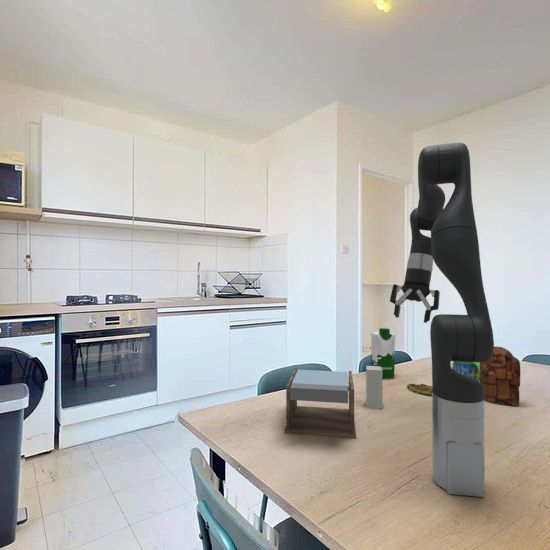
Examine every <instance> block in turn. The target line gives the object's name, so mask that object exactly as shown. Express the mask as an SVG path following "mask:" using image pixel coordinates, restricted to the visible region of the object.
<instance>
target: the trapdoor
mask: <svg viewBox="0 0 550 550" xmlns="http://www.w3.org/2000/svg"><path fill="white" fill-rule="evenodd" d="M290 400H297V401H300V402H302V401H303V402H320V403H336V404H338V403H339V404H349V371H341V370H340V371H338V370H337V371H333V370H314V369H297V373H296V375H295V377H294V379H293V382H292V385H291V387H290Z"/></svg>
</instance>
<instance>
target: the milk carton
mask: <svg viewBox="0 0 550 550" xmlns="http://www.w3.org/2000/svg"><path fill="white" fill-rule="evenodd" d="M390 331H391V330H390V328H387V327H386V328H385V327H384V328H379V329H378V331H371V332H370V335H371V336H370V341H371V345H370V346H371V347H370V348H371V360H370V361H371V362H370V363H371V366H381V368H382V378H394V379H395V368H396V367H395V364H396V363H395V362H396V361H395V360H396V359H395V356H396V355H395V344H396V343H395V338H396V335H395V334H394V333H392V332H390Z"/></svg>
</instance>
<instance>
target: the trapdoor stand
mask: <svg viewBox="0 0 550 550" xmlns="http://www.w3.org/2000/svg"><path fill="white" fill-rule="evenodd" d="M297 370H298V368H297V367H296V368H294V369H293V371H292V373H291V374H290V377H289V379H288V381H287V383H286V387H285V388H286V389H285V391H286V393H285V394H286V396H285V397H286V398H285V399H286V402H285V403H286V405H285V409H286V410H285V413H286V414H285V417H286V418H285V420H286V421H285V422H286V423H285V428H284V434H293V435H306V436H317V437H318V436H320V437H329V438H330V437H333V438H344V439H345V438H347V439H357V429H356V423H355V386H354V379H353V372H352V370H348V380H349V391H348V408H338V407H337V408H336V407H334V408H333V407H321V406H320V407H319V406H304V405H298V400H290V387H291V385H292V382H293V379H294V377H295V375H296V373H297Z"/></svg>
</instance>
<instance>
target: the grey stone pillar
mask: <svg viewBox="0 0 550 550" xmlns="http://www.w3.org/2000/svg"><path fill="white" fill-rule="evenodd" d="M365 404H366V408H367V409H374V410H375V409H379V410H383V409H384V408H383V407H384V406H383V405H384V404H383V379H382V368H381V366H372V365H365Z"/></svg>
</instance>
